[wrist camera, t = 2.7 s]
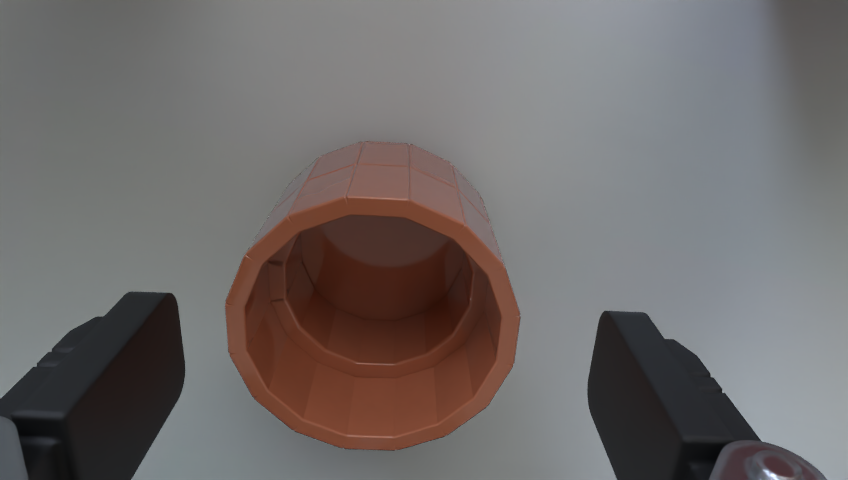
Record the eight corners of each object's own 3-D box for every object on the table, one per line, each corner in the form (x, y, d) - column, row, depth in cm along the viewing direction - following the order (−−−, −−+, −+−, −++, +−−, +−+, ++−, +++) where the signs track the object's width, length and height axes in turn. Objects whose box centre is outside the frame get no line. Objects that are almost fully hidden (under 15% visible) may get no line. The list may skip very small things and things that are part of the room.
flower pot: (279, 329, 18) (235, 446, 13) (272, 131, 16) (215, 189, 11) (479, 337, 18) (501, 454, 14) (500, 143, 16) (536, 205, 11)
